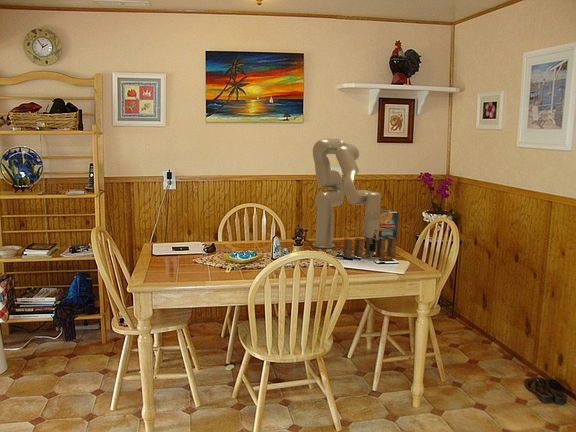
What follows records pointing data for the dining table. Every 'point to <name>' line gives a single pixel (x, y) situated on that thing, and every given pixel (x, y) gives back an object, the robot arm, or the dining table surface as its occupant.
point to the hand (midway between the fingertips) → (369, 249)
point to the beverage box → (387, 225)
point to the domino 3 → (368, 242)
